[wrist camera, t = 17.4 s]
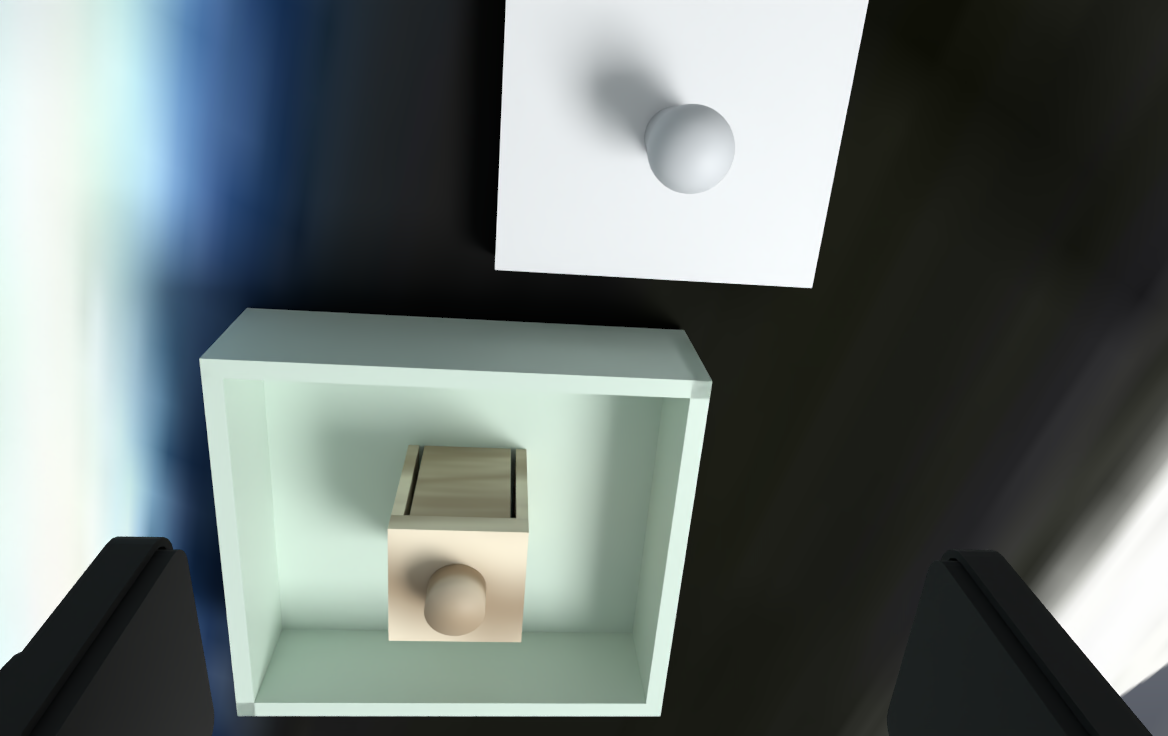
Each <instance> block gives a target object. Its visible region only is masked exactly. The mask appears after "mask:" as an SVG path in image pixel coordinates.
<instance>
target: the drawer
mask: <svg viewBox="0 0 1168 736" xmlns="http://www.w3.org/2000/svg"><path fill="white" fill-rule="evenodd" d="M510 493H511V449H506V448H479V447H452V446H424V450H423V455H422V460H421V465H420V469H419V445H408V449H407V453H406V457H405V461H404V465H403V469H402V473H401V477H400V481H399V485H398V489H397V493H396V497H395V501H394V505H393V509H392V513H391V517H390V521H389V525H388V635H389V641H453V642H521V638H522V623H523V609H524V595H525V580H526V566H527V551H528V537H529V522H528V486H527V451H526V449H516V459H515V475H514V492H513V509H512V518H510Z"/></svg>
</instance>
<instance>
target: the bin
mask: <svg viewBox="0 0 1168 736" xmlns="http://www.w3.org/2000/svg"><path fill="white" fill-rule="evenodd" d="M199 361H200V370H201V379H202V389H203V398H204V407H205V417H206V426H207V435H208V445H209V454H210V463H211V472H212V482H213V491H214V500H215V510H216V519H217V528H218V538H219V547H220V556H221V566H222V575H223V584H224V593H225V603H226V612H227V621H228V631H229V640H230V649H231V659H232V668H233V677H234V687H235V696H236V705H237V715H238V716H660V714H661V708H662V702H663V695H664V689H665V682H666V676H667V669H668V663H669V657H670V650H671V644H672V637H673V631H674V624H675V618H676V611H677V605H678V599H679V592H680V586H681V579H682V573H683V566H684V560H685V554H686V547H687V541H688V534H689V528H690V521H691V515H692V508H693V502H694V496H695V489H696V483H697V476H698V470H699V463H700V457H701V451H702V444H703V438H704V431H705V425H706V418H707V412H708V405H709V399H710V393H711V386H712V380H711V378H710V376H709V374H708V373H707V371H706V369H705V367H704V365H703V364H702V362H701V360H700V358H699V356H698V354H697V353H696V351H695V349H694V347H693V345H692V344H691V342H690V340H689V338H688V336H687V335H686V333H685V331H684V330H672V329H652V328H632V327H613V326H593V325H573V324H554V323H534V322H514V321H494V320H475V319H455V318H435V317H416V316H396V315H376V314H356V313H337V312H317V311H297V310H278V309H258V308H246V309H245V310H244V311H243V312H242V314H241V315H240V316H239V317H238V318H237V319H236V320H235V321H234V322H233V323H232V324H231V325H230V326H229V327H228V328H227V330H226V331H225V332H224V333H223V334H222V335H221V336H220V337H219V338H218V339H217V340H216V341H215V342H214V343H213V344H212V346H211V347H210V348H209V349H208V350H207V351H206V352H205V353H204V354H203V355H202V356H201V357H200V358H199ZM408 445H419V469H420V465H421V460H422V455H423V450H424V446H452V447H479V448H506V449H511V493H510V518H512V509H513V492H514V475H515V459H516V449H526V451H527V486H528V522H529V537H528V551H527V566H526V580H525V595H524V609H523V623H522V638H521V642H453V641H389V635H388V525H389V521H390V517H391V513H392V509H393V505H394V501H395V497H396V493H397V489H398V485H399V481H400V477H401V473H402V469H403V465H404V461H405V457H406V453H407V449H408Z"/></svg>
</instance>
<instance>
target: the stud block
mask: <svg viewBox="0 0 1168 736" xmlns="http://www.w3.org/2000/svg"><path fill="white" fill-rule="evenodd" d="M868 1H869V0H506V11H505V35H504V59H503V84H502V108H501V132H500V157H499V181H498V205H497V230H496V254H495V270H507V271H524V272H542V273H559V274H577V275H594V276H612V277H629V278H647V279H664V280H682V281H699V282H717V283H734V284H752V285H769V286H787V287H804V288H812V285H813V280H814V275H815V270H816V265H817V259H818V254H819V249H820V244H821V239H822V234H823V229H824V224H825V219H826V214H827V209H828V204H829V199H830V193H831V188H832V183H833V178H834V173H835V168H836V163H837V158H838V153H839V148H840V143H841V138H842V133H843V128H844V122H845V117H846V112H847V107H848V102H849V97H850V92H851V87H852V82H853V77H854V72H855V67H856V62H857V57H858V51H859V46H860V41H861V36H862V31H863V26H864V21H865V16H866V11H867V6H868Z"/></svg>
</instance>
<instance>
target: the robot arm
mask: <svg viewBox="0 0 1168 736" xmlns="http://www.w3.org/2000/svg"><path fill="white" fill-rule="evenodd" d="M213 725H214V709H213V703H212V697H211V692H210V686H209V680H208V675H207V669H206V663H205V657H204V652H203V646H202V640H201V634H200V629H199V623H198V617H197V611H196V606H195V600H194V594H193V588H192V583H191V577H190V571H189V566H188V560H187V556H186V554H185V552H184V551H182V550H173V547H172V544H171V542H170V541H169V540H168V539H167V538H164V537H115V538H112V539H111V540H110V541H109V542H108V543H107V544H106V545H105V547H104V548H103V549H102V550H101V552H100V553H99V554H98V556H97V557H96V558H95V559H94V561H93V562H92V563H91V564H90V566H89V567H88V568H87V570H86V571H85V572H84V573H83V575H82V576H81V577H80V578H79V580H78V581H77V582H76V583H75V585H74V586H73V587H72V589H71V590H70V591H69V592H68V594H67V595H66V596H65V597H64V599H63V600H62V601H61V603H60V604H59V605H58V606H57V608H56V609H55V610H54V611H53V613H52V614H51V615H50V617H49V618H48V619H47V620H46V622H45V623H44V624H43V625H42V627H41V628H40V629H39V631H38V632H37V633H36V634H35V636H34V637H33V638H32V639H31V641H30V642H29V643H28V644H27V646H26V647H25V648H24V650H23V651H22V652H20V653H18V654H16V655H14V656H13V657H12V658H11V659H10V660H9V661H8V662H7V663H6V664H5V665H4V666H3V667H2V669H1V670H0V736H212V732H213ZM887 726H888V732H889V736H1152V734H1151V733H1150V732H1149V731H1148V730H1147V729H1146V727H1145V726H1144V725H1143V724H1142V722H1141V721H1140V720H1139V719H1138V718H1137V716H1136V715H1135V714H1134V713H1133V712H1132V711H1131V709H1130V708H1129V707H1128V706H1127V705H1126V703H1125V702H1124V701H1123V700H1122V698H1121V697H1120V696H1119V695H1118V694H1117V692H1116V691H1115V690H1114V689H1113V688H1112V686H1111V685H1110V684H1109V683H1108V682H1107V681H1106V679H1105V678H1104V677H1103V676H1102V675H1101V673H1100V672H1099V671H1098V670H1097V669H1096V667H1095V666H1094V665H1093V664H1092V663H1091V661H1090V660H1089V659H1088V658H1087V657H1086V655H1085V654H1084V653H1083V652H1082V651H1081V649H1080V648H1079V647H1078V646H1077V645H1076V643H1075V642H1074V641H1073V640H1072V639H1071V637H1070V636H1069V635H1068V634H1067V633H1066V631H1065V630H1064V629H1063V628H1062V627H1061V625H1060V624H1059V623H1058V622H1057V621H1056V619H1055V618H1054V617H1053V616H1052V615H1051V613H1050V612H1049V611H1048V610H1047V609H1046V607H1045V606H1044V605H1043V604H1042V603H1041V601H1040V600H1039V599H1038V598H1037V597H1036V595H1035V594H1034V593H1033V592H1032V591H1031V589H1030V588H1029V587H1028V586H1027V585H1026V583H1025V582H1024V581H1023V580H1022V579H1021V577H1020V576H1019V575H1018V574H1017V573H1016V571H1015V570H1014V569H1013V568H1012V567H1011V565H1010V564H1009V563H1008V562H1007V561H1006V559H1005V558H1004V557H1003V556H1002V555H1001V554H999V553H998V552H997V551H993V550H962V549H952V550H948V551H946V553H945V554H944V555H943V556H942V558H941V561H934V562H933V563H932V564H931V565H930V567H929V570H928V573H927V576H926V580H925V583H924V587H923V590H922V594H921V597H920V601H919V604H918V608H917V611H916V615H915V618H914V622H913V625H912V629H911V632H910V636H909V639H908V643H907V646H906V650H905V653H904V657H903V660H902V664H901V667H900V671H899V674H898V678H897V681H896V685H895V688H894V692H893V695H892V699H891V702H890V706H889V709H888V715H887Z"/></svg>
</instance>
